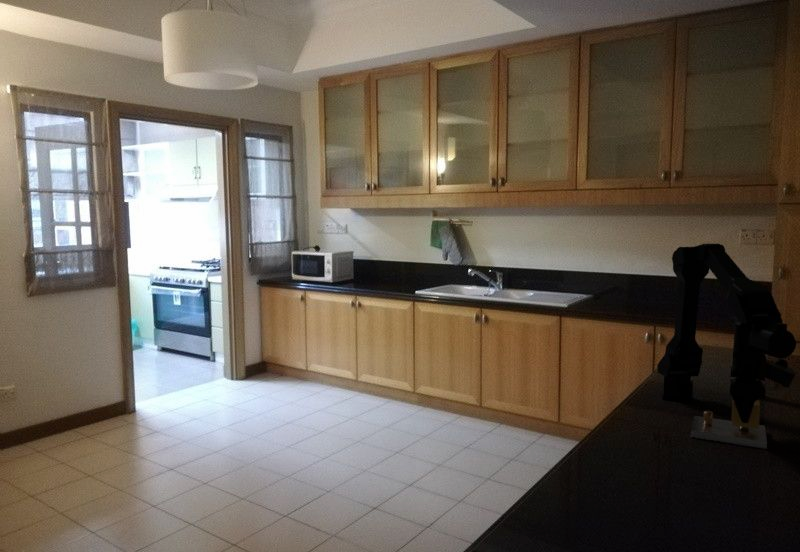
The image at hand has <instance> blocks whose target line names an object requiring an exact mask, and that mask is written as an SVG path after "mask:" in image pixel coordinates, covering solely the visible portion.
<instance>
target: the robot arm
mask: <svg viewBox="0 0 800 552" xmlns="http://www.w3.org/2000/svg"><path fill="white" fill-rule="evenodd" d="M725 248H726V247H725V246H724V245H723V244H720V243H702V244H699V245H696V246H695V245H694V246H679V247H677V248H676V250H673V253H672V256H671V262H672V271H673V273H674V274H675V277H676V278H677V280H678V287H677V299H676V312H675V322H674V323H675V324H674V330H673V331H674V332H673V333H674V334H673V336H672V338H671V339H670V340H669V342H668V343H667V344H666V347H665V352H664V355H663V356H662V358H661V359H660V360H659V361H658V363H657V364H656V365H657V366H656V367H657V373H658V374H660V375H661V376H663V394H662V397H661V399H663V400H668V401H677V402H684V403H690V402H691V400H692V399H693V396H694V383H695V382H694V380H692V377H699V375H700V374H699V373H700V371H701V368H702V364H703V353H704V349H703V348H702V347H700V346H699V343H698V341H697V340H696V333H697V324H698V313H699V303H700V292H701V284H702V282H703V281H704V279H705V278H706V277H707V275H708V274H709V273H710V271H711V273H712V274H713V276H714V277H715V278H716V279H717V280H718V282H719V283H720V284H721V286H722V287H723V288H724V289H725V291H726V297H725V301H726V302H727V304H728V307H729V308H730V311H732V313H733V314H734V316H732V317H731V318H729V323H730V324H734V327H733V330H734V331H733V346H732V347H733V348H732V364H731V366H730V375H729V377H730V378H731V379H730V382H729V383H730V384H729V385H730V386H729V395H730V396H731V397H732V401H733V400H734V403H735V406H736V408H737V411H738V413H739V416H740V418H741V421H742V422H743V423H748V421H749V418H750V415H751V412H752V409H753V406H754V403H755V401H757V400H759V401H760V399H761V400H762V399H764V400H765V399H766V391H767V389H766V385H765V384H764V383H763V382H762V381H764V382H765V381H766V379H768V380H770V381H773V382H775V383H777V384H779V385H781V386H782V387H784V388H787V389H789V388H790V386H791V385H792V382H793V381H794V378H796V372H795V370H794V369H792V368H791V367H789V365H788V360H786V359H785V358H788V357H790V356H791V355H792V354H793V353H795V350H796V347H797V340H796V338H795V336H794V334H793V333H792V332H791V331H789V330H788V325H787V323H783V319H782V314H781V312H780V310H779V308H778V306H777V303H776V302H775V299H774V297H773V294H772V293H771V291H770V290H769V289H768V288H766V287H765V286H764V285H763V284H761V283H759V282H757V281H755V280H752V279H751V278H748V276H747V275H746V274H745V273H744V272H743V271H742V270H741V268H740V267H739V265H737V264H736V262H735V261H734V260H733V258H731V256H730V255H729V254H728V253H727V251H726V249H725ZM766 355H767V356H771V357H773V358H776V360H769V359H768V358H767V356H766ZM732 378H733V379H732ZM756 379H757V380H756Z"/></svg>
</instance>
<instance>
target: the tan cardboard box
mask: <svg viewBox="0 0 800 552" xmlns="http://www.w3.org/2000/svg"><path fill="white" fill-rule="evenodd" d="M760 401H761V400H760V399H759V400H757V401H755V403H754V406H753V409H752V412H751V415H750V418H749V421H748V423H743V422H742V421H741V418H740V416H739V413H738V411H737V408H736V406H735V403H734V400H733V399H732V405H731V407H732V408H731V421H732V425H733V426H740V427H747V428H754V429H759V425H760V413H761V412H760V411H761V402H760Z"/></svg>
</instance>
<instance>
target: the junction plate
mask: <svg viewBox="0 0 800 552" xmlns="http://www.w3.org/2000/svg"><path fill="white" fill-rule="evenodd" d="M713 416H714V412H713V411H712V410H704V411H703V416H698V415H694V416H693V419H692V424H691V429H690V438H692V437H695V438H694V439H698V438H699V439H700V440H704V439H705V441H711V440H713V442H717V441H720V443H724V442H725V444H730V443H732V444H731V445H738V446H745V447H750V448H758V449H764V450H767V449H768V440H767V433H766V426H765V425H763V424H762V425H761V424H759V429H754V428H747V427H740V426H733V425H732V420H727V419H720V418H719V419H718V418H714V417H713Z"/></svg>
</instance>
